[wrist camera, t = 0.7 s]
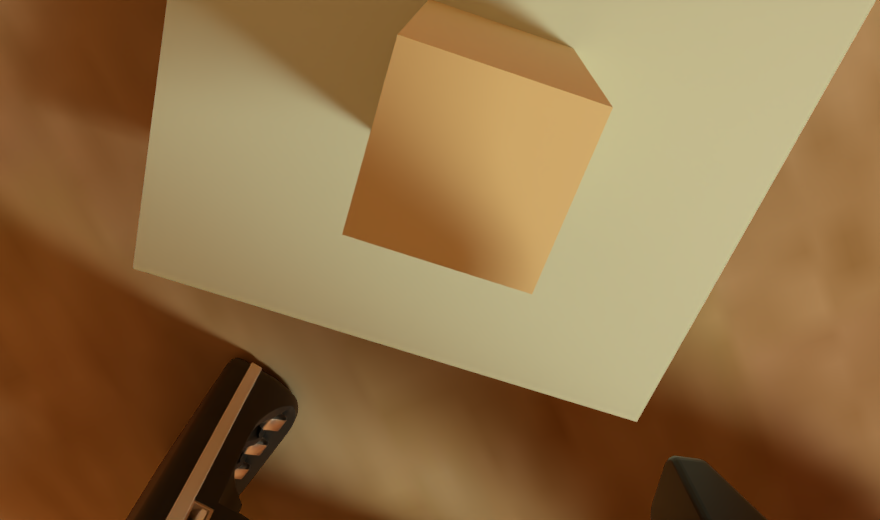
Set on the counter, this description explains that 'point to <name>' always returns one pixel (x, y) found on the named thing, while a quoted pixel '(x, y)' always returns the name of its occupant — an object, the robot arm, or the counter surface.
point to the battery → (220, 448)
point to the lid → (480, 169)
